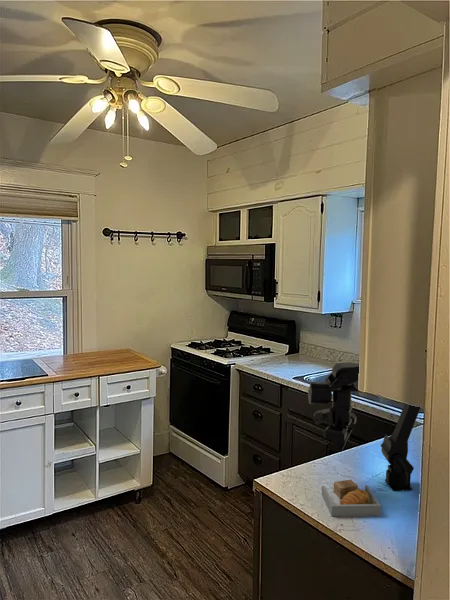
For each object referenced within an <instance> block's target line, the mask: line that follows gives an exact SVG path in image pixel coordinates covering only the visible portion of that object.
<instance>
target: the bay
mask: <svg viewBox="0 0 450 600" xmlns="http://www.w3.org/2000/svg"><path fill="white" fill-rule="evenodd" d="M364 491H366V492H367V493H368V495H369V497H370V500H371V504H349V505H340V504H334V502H333V500H332V497H331V496H330V494H329V492H328V490H327V487H326V486H325V485H322V486H321V497H322V500H323V501H324V503H325V506H326V507H327V509H328V512H329V514H330V516H331V517H369V516H370V517H371V516H379V517H380V516H381V515H382V514H381V513H382V505H381V503H380V502H379V500H378V499H377V498H376V496H375V494H374V493H373V492H372V490H371V488H370V487H369V486H368V485H367V484H365V485H364Z"/></svg>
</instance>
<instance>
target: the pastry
mask: <svg viewBox="0 0 450 600" xmlns="http://www.w3.org/2000/svg"><path fill="white" fill-rule="evenodd" d="M339 503H340V504H339V505H349V504H371V500H370V497H369V495H368V493H367V492H366V491H365V489H360V488H358V489H357V490H355V491H351V492H348V493H347V494H346V495H345V496H344V497H343V498H342V499H340V501H339Z"/></svg>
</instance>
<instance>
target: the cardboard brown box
mask: <svg viewBox="0 0 450 600" xmlns="http://www.w3.org/2000/svg"><path fill="white" fill-rule="evenodd" d="M357 489H359V486H358V484H357V483H356V482H354V481H353V480H352V479H346V480H345V479H344V480H338V481H334V482H333V493H334V494H335V495H336V497H338V499H340V500H342V498H343V497H344V496H345V495H346V494H347V493H348V492H351V491H355V490H357Z"/></svg>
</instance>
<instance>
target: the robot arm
mask: <svg viewBox="0 0 450 600" xmlns="http://www.w3.org/2000/svg"><path fill="white" fill-rule="evenodd" d="M359 363H360V362H359ZM359 363H355V362H338V363H336V364H334V365H333V366H332V368H331V369H332V370H331V372H330V373H329V375H328V376H327V377H326V379H325V381H324V382H316V381H310V382H309V386H308V390H307V393H308V394H307V398H308V399H307V400H308V404H309V405H328V404H330V403H332V406H331V407H330V408H325V409H319V410H316V411H315V412H314V413H313V421H314V422H315V424H316V425H320V424H323V423H328V424H329V425H328V426H327V427H326V429H325V430H324V431H323V438H324V439H329V440H332V441H335V445H336V448H337V449H336V450H337V451H338V452H339V453H342V452H343V450H344V447H345V445H346V443H347V441H348V439H349V437H350V435H351V433H352V431H353V428H352V427H350V425H351V423H352V424H353V425H356V423H357V415H356V414H355V413H354V412H352V410H353V406H352V392H359V388H357V386H356V385H355V384H354V383H357V382H359V381H358V373H359ZM331 401H332V402H331ZM420 411H421V408H420V407H415V406H411V405H407V404H405V403H404V404H403V407H402V410H401V413H400V415H399V418H398V420H397V422H396V425H395V428H394V431H393V432H392V434H390V435H389V436H388V435H384V437H383V440H382V443H381V444H380V447H381V453H382V455H383V457H384V458H385V460H386V461H387V463H388V465H387V469H386V470H385V479H384V481H385V483H386V484H387V485H388V487H389V488H390V489H391V491H413V487H412V486H411V477H412V473H413V471H414V470H415V469H414V466H413V465H412V464H411V462H410V461H409V460H408V454H409V444H408V443H409V439H410V436H411V433H412V431H413V428H414V426H415V423H416V421H417V418H418V416H419V413H420Z"/></svg>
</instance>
